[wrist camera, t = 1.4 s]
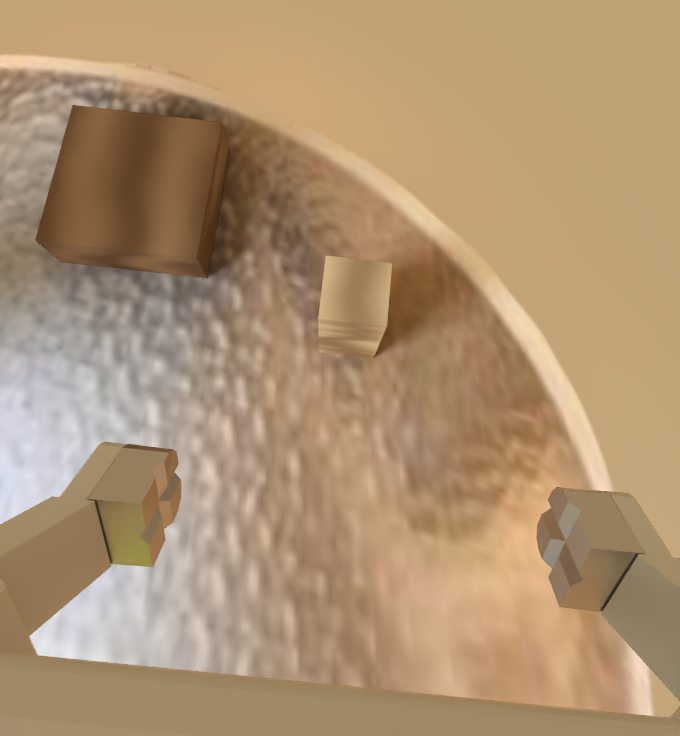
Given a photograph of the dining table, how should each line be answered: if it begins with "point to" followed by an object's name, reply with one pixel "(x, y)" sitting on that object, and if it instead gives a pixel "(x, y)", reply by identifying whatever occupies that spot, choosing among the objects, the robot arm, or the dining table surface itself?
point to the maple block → (353, 306)
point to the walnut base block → (136, 192)
